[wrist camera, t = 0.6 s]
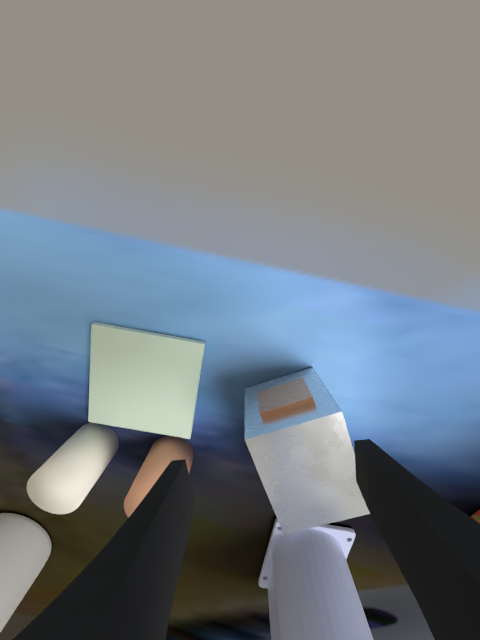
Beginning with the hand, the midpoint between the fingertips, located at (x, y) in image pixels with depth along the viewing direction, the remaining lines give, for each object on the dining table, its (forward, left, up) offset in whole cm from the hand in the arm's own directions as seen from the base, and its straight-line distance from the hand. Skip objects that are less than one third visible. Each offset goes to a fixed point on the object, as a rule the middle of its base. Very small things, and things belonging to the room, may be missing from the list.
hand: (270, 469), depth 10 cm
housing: (-4, -4, -10) cm, 11 cm away
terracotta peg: (-10, +6, -10) cm, 15 cm away
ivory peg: (-10, +13, -10) cm, 19 cm away
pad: (-3, +9, -10) cm, 14 cm away
